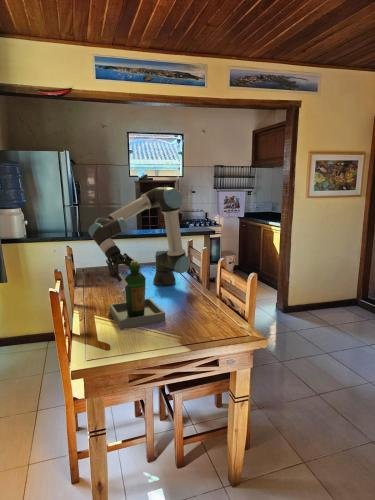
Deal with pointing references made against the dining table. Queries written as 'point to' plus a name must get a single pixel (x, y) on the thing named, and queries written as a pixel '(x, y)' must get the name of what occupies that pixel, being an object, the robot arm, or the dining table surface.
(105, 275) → the dining table surface
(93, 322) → the dining table surface
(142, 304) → the bottle
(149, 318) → the tray
